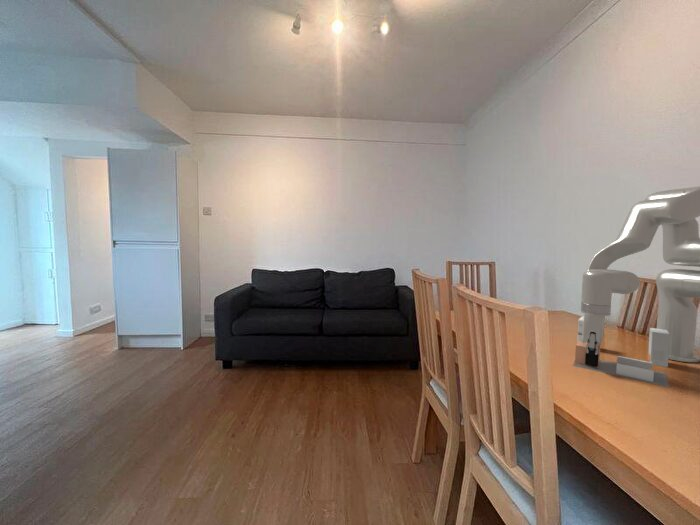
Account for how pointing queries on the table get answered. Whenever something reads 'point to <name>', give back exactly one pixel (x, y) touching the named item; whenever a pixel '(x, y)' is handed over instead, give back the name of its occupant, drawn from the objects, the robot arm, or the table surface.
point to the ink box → (580, 329)
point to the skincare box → (658, 347)
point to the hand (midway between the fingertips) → (592, 362)
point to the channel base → (630, 370)
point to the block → (583, 353)
